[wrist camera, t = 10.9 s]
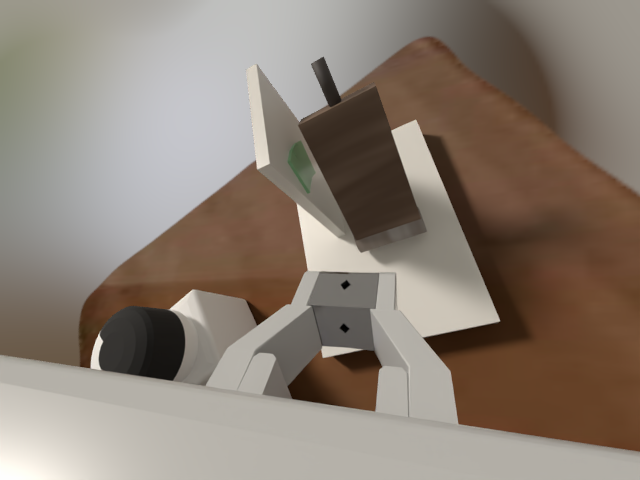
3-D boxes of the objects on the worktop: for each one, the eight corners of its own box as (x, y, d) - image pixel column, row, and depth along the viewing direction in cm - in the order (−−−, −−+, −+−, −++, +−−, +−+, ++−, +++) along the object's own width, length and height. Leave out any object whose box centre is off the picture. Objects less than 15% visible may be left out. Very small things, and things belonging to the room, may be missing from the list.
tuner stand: (496, 322, 21) (550, 299, 9) (332, 356, 25) (213, 372, 13) (418, 133, 28) (388, -25, 16) (300, 184, 32) (205, 89, 20)
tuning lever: (428, 236, 21) (360, 35, 15) (362, 257, 23) (274, 85, 16) (423, 222, 23) (360, 35, 16) (361, 242, 25) (281, 80, 18)
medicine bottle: (246, 297, 30) (137, 276, 20) (274, 360, 27) (160, 372, 17) (198, 336, 32) (72, 335, 21) (220, 401, 28) (81, 437, 18)
